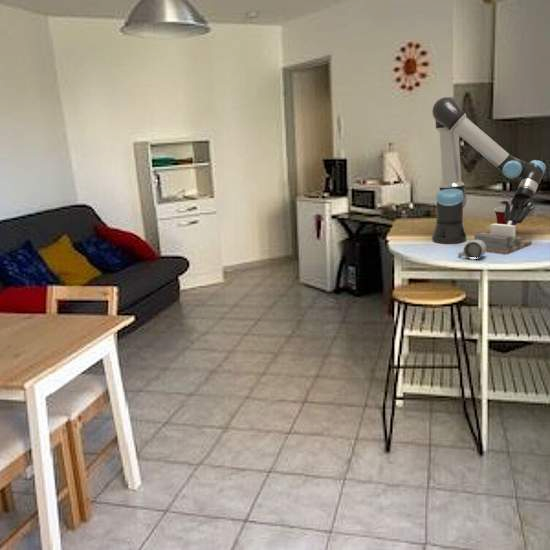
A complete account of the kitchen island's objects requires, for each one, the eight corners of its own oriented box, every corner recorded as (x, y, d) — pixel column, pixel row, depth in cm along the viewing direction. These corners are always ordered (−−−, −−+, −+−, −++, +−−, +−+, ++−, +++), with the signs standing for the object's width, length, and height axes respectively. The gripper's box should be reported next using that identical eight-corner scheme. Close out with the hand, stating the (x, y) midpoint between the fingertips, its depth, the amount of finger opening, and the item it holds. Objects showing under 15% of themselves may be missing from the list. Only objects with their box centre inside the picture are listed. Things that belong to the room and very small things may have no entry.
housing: (496, 240, 262) (497, 226, 260) (531, 244, 250) (532, 229, 248) (471, 249, 248) (471, 234, 246) (506, 254, 236) (507, 239, 234)
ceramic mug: (487, 256, 236) (487, 238, 234) (482, 260, 229) (482, 242, 227) (461, 254, 242) (461, 236, 240) (455, 259, 235) (455, 241, 233)
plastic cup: (487, 232, 279) (488, 207, 276) (504, 229, 283) (506, 205, 279) (504, 235, 269) (505, 210, 266) (521, 232, 273) (523, 207, 270)
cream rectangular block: (493, 240, 253) (494, 223, 251) (514, 243, 246) (515, 225, 244) (489, 242, 252) (490, 224, 249) (511, 245, 244) (512, 226, 242)
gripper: (542, 197, 253) (522, 241, 247) (514, 195, 263) (494, 237, 257) (538, 187, 248) (517, 231, 242) (509, 185, 258) (489, 228, 252)
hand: (505, 234), depth 250 cm, fingers closed
